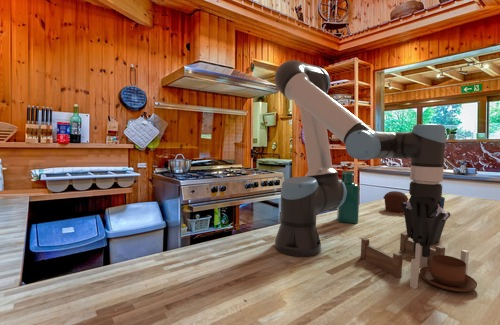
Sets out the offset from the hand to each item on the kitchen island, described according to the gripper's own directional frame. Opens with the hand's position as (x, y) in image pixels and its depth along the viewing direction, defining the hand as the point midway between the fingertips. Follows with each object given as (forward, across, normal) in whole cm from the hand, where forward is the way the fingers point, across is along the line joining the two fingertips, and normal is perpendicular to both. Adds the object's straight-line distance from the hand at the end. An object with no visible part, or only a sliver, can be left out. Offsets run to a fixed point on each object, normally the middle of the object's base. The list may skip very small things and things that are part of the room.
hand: (420, 266), depth 79 cm
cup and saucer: (+2, -7, -1) cm, 7 cm away
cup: (+2, +22, -32) cm, 39 cm away
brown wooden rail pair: (+2, +6, 0) cm, 7 cm away
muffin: (+2, +56, -50) cm, 75 cm away
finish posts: (+2, -6, 0) cm, 6 cm away
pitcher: (+2, +48, -14) cm, 51 cm away
